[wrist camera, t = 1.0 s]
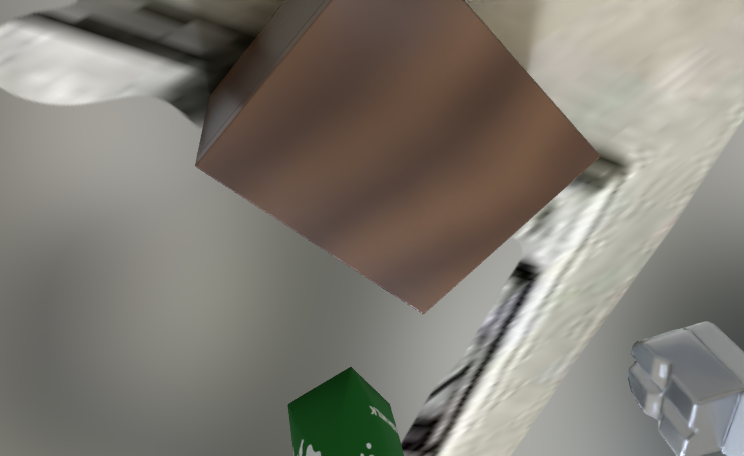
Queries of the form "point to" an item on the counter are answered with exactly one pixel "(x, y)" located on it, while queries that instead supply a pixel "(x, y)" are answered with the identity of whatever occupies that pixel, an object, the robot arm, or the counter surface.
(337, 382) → the milk carton
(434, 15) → the cupboard
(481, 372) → the counter surface
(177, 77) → the counter surface
